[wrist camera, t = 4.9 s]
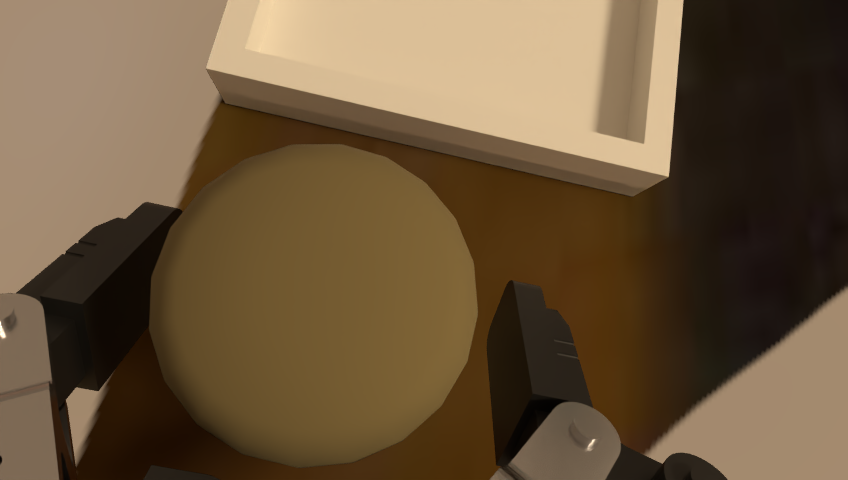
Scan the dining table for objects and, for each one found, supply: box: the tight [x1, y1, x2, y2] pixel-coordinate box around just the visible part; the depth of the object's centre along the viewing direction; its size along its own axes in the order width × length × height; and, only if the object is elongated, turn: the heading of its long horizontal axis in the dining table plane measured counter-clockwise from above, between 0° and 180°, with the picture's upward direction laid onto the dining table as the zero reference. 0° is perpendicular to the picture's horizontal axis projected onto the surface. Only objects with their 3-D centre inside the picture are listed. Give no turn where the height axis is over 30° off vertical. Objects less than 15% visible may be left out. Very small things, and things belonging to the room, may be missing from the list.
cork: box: [149, 144, 478, 468], centre depth 12 cm, size 6×6×11 cm
